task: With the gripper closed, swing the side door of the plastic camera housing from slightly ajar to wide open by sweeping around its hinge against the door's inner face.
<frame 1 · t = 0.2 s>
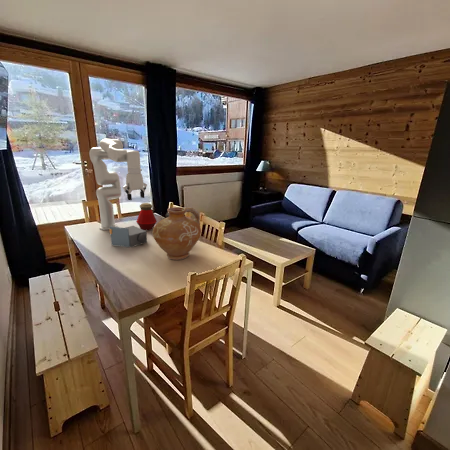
hand: (136, 198, 158), 31 cm above the table, fingers open, 9 cm apart
side door: (119, 237, 159), point 7 cm above the table, hinge at 30.0°
jug: (177, 255, 153), on the table
bottle: (147, 228, 196), on the table
camera housing: (132, 241, 171), on the table
vintage camera: (175, 237, 182), on the table
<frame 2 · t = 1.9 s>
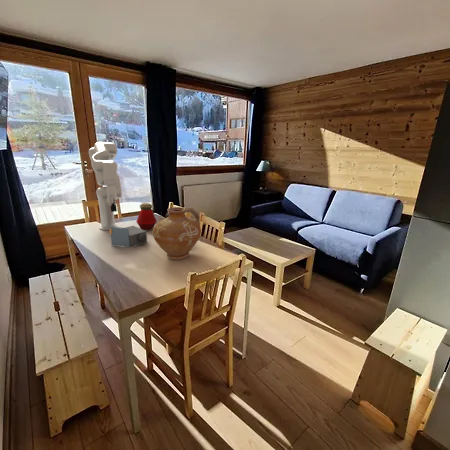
hand: (113, 211, 158), 22 cm above the table, fingers closed
nothing on the table moved.
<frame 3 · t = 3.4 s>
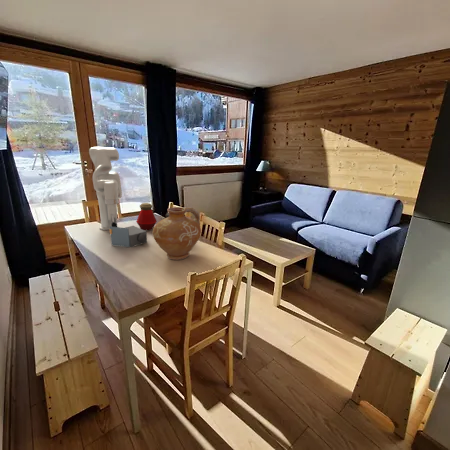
hand: (114, 229, 161), 11 cm above the table, fingers closed
side door: (119, 237, 159), point 7 cm above the table, hinge at 30.0°, touching gripper
everything else where it was.
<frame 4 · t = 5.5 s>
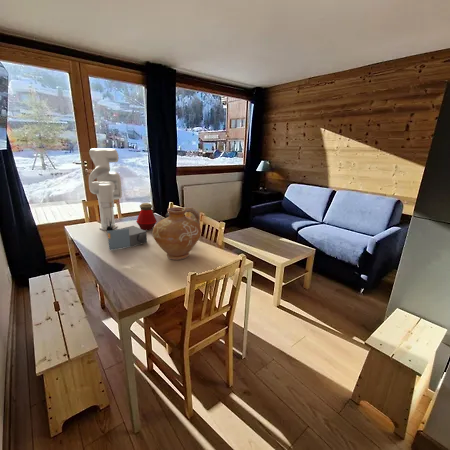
hand: (110, 233, 154), 11 cm above the table, fingers closed
side door: (119, 239, 155), point 7 cm above the table, hinge at 69.6°, touching gripper
everything else where it was.
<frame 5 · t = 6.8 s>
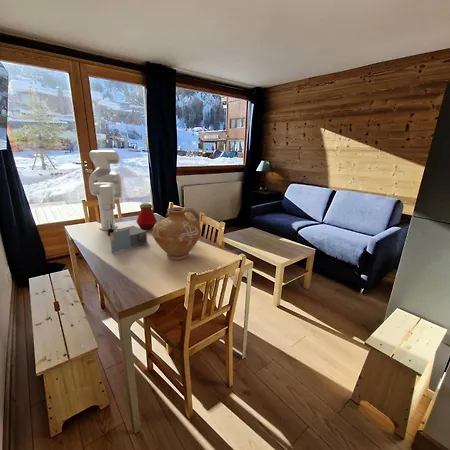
hand: (111, 235, 151), 10 cm above the table, fingers closed
side door: (121, 240, 154), point 7 cm above the table, hinge at 92.0°, touching gripper
everything else where it was.
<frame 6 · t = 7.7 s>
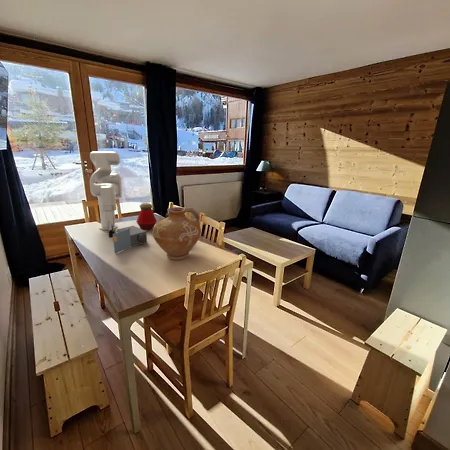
hand: (112, 236, 149), 10 cm above the table, fingers closed
side door: (122, 240, 153), point 7 cm above the table, hinge at 104.2°, touching gripper
everything else where it was.
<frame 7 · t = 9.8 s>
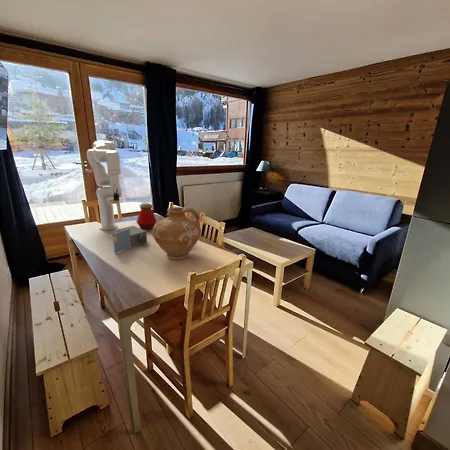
hand: (116, 200, 162), 28 cm above the table, fingers closed
side door: (122, 240, 153), point 7 cm above the table, hinge at 104.4°
everything else where it was.
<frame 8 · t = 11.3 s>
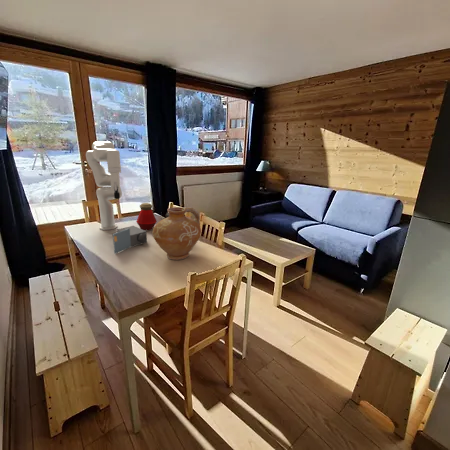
hand: (117, 198, 163), 29 cm above the table, fingers closed
nothing on the table moved.
at the end: side door at +104° (first picture: +30°) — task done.
